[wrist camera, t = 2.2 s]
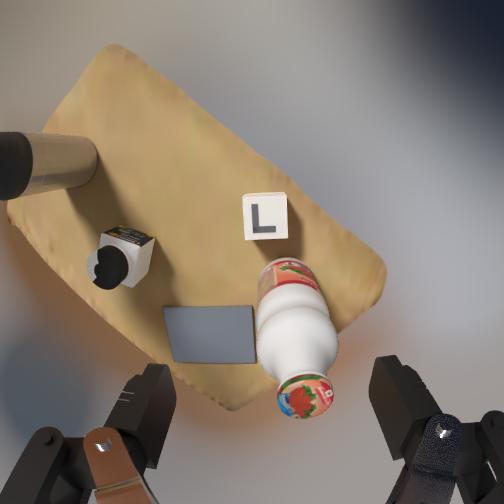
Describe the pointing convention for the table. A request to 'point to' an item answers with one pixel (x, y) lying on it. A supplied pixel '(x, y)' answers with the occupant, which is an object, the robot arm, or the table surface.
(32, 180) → the robot arm
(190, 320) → the slate mat
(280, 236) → the letter cube
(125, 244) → the medicine bottle
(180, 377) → the table surface
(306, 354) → the white plastic bottle
